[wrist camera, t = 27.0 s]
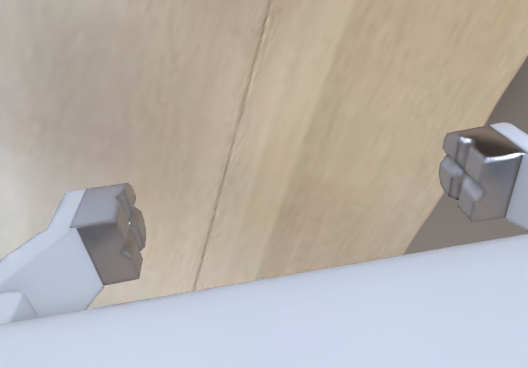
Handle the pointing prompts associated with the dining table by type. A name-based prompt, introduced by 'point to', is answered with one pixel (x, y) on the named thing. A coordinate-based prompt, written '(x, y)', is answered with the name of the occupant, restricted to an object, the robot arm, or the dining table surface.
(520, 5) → the dining table surface
